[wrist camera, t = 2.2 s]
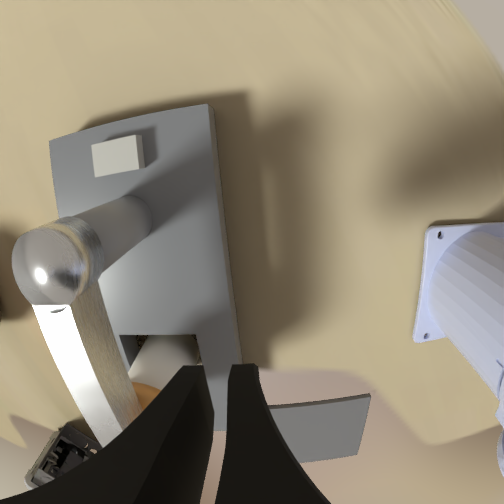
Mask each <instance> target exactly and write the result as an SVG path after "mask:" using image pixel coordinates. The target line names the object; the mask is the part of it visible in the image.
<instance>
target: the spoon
mask: <svg viewBox="0 0 504 504" xmlns="http://www.w3.org/2000/svg"><path fill="white" fill-rule="evenodd" d="M103 267H104V252H103V247H102V244H101V242H100V239H99V237H98V235H97V234H96V232H95V231H94V230H93V228H92V227H91V226H90V225H89V224H87V223H86V222H85V221H83V220H82V219H79V218H77V217H73V216H66V217H62V218H59V219H57V220H54V221H52V222H50V223H47V224H45V225H42V226H40V227H38V228H35V229H33V230H31V231H29V232H26V233H24V234H23V235H21V236H20V237H19V238H18V240H17V241H16V243H15V245H14V248H13V252H12V269H13V274H14V277H15V280H16V283H17V285H18V287H19V289H20V291H21V292H22V294H23V295H24V297H25V298H26V299H27V300H28V301H29V302H30V303H31V304H32V305H33V307H34V310H35V312H36V315H37V318H38V321H39V323H40V326H41V329H42V331H43V334H44V336H45V339H46V341H47V343H48V346H49V348H50V351H51V353H52V355H53V357H54V360H55V362H56V364H57V366H58V368H59V370H60V373H61V375H62V377H63V379H64V381H65V383H66V385H67V387H68V389H69V391H70V393H71V395H72V396H73V398H74V400H75V402H76V404H77V406H78V408H79V409H80V411H81V413H82V415H83V416H84V418H85V420H86V422H87V423H88V425H89V427H90V428H91V430H92V431H93V433H94V435H95V436H96V438H97V439H98V441H99V443H100V444H101V446H102V447H105V446H106V445H107V444H108V443H110V442H111V441H112V440H113V439H114V438H115V437H117V436H118V435H119V434H120V433H121V432H122V431H123V430H124V429H125V428H126V427H127V426H128V425H129V424H130V423H131V422H132V421H133V420H134V419H136V418H137V417H138V416H139V415H140V413H141V412H142V411H143V409H142V407H141V405H140V402H139V400H138V398H137V395H136V393H135V390H134V388H133V385H132V383H131V380H130V378H129V375H128V373H127V370H126V367H125V365H124V362H123V359H122V356H121V354H120V351H119V348H118V345H117V342H116V339H115V336H114V333H113V330H112V327H111V324H110V321H109V317H108V314H107V311H106V307H105V304H104V300H103V297H102V293H101V290H100V286H99V282H98V279H99V278H100V276H101V274H102V271H103Z"/></svg>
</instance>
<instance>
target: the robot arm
mask: <svg viewBox="0 0 504 504" xmlns="http://www.w3.org/2000/svg"><path fill="white" fill-rule="evenodd" d="M440 231H441V236H440V237H438V233H439V232H440ZM426 333H427V334H426ZM425 334H426V335H425ZM424 335H425V336H424ZM444 337H448V339H449V340H450V341H451V342H452V343H453V344H454V345H455V347H456V348H457V349H458V350H459V351H460V353H461V354H462V355H463V356H464V357H465V358H466V360H467V361H468V362H469V363H470V364H471V366H472V367H473V368H474V369H475V371H476V372H477V373H478V374H479V376H480V377H481V378H482V379H483V381H484V382H485V383H486V384H487V386H488V387H489V388H490V389H491V391H492V392H493V393H494V395H495V396H496V397H497V399H498V400H499V401H500V404H499V407H498V410H497V411H496V413H495V416H496V418H497V419H498V421H499V422H500V423H501V425H502V426H503V430H502V432H501V434H500V437H499V440H498V444H497V458H498V463H499V467H500V469H501V472H502V474H503V476H504V222H493V223H475V224H457V225H440V226H431V227H429V228H428V229H427V230H426V232H425V242H424V255H423V266H422V276H421V284H420V292H419V299H418V306H417V313H416V319H415V325H414V330H413V340H414V341H415V342H416V343H421V342H426V341H431V340H435V339H440V338H444ZM214 416H215V412H214V408H213V404H212V400H211V396H210V392H209V387H208V383H207V379H206V375H205V370H204V366H203V365H183V366H182V367H181V368H180V369H179V370H178V371H177V373H176V374H175V375H174V376H173V377H172V379H171V380H170V381H169V382H168V383H167V384H166V386H165V387H164V388H163V389H162V390H161V391H160V393H159V394H158V395H157V396H156V397H155V398H154V399H153V400H152V402H151V403H150V404H149V405H148V406H147V407H146V408H145V409H144V410H143V411H142V412H141V413H140V415H139V416H138V417H137V418H136V419H134V420H133V421H132V422H131V423H130V424H129V425H128V426H127V427H126V428H125V429H124V430H123V431H122V432H121V433H120V434H119V435H118V436H117V437H115V438H114V439H113V440H112V441H111V442H110V443H108V444H107V445H106V446H105V447H103V448H102V449H101V450H100V451H98V452H97V453H96V454H94V455H93V456H92V457H90V458H89V459H87V460H86V461H84V462H82V463H81V464H79V465H78V466H76V467H74V468H73V469H71V470H70V471H68V472H66V473H65V474H63V475H61V476H59V477H58V478H56V479H54V480H52V481H50V482H48V483H45V484H43V485H41V486H39V487H36V488H34V489H32V490H29V491H27V492H24V493H21V494H19V495H15V496H12V497H9V498H5V499H2V500H0V504H200V499H201V494H202V489H203V485H204V480H205V475H206V471H207V466H208V461H209V456H210V452H211V447H212V441H213V430H214ZM226 433H227V434H226V448H225V454H224V460H223V465H222V471H221V476H220V481H219V487H218V491H217V496H216V500H215V504H331V503H330V502H329V501H328V500H327V498H326V497H325V496H324V495H323V494H322V493H321V492H320V490H319V489H318V488H317V487H316V486H315V484H314V483H313V482H312V481H311V479H310V478H309V477H308V475H307V474H306V473H305V471H304V470H303V468H302V467H301V465H300V464H299V462H298V461H297V459H296V458H295V456H294V455H293V453H292V452H291V450H290V448H289V447H288V445H287V443H286V442H285V440H284V438H283V436H282V434H281V433H280V431H279V429H278V427H277V425H276V423H275V421H274V419H273V416H272V414H271V412H270V410H269V407H268V405H267V403H266V400H265V397H264V394H263V391H262V388H261V384H260V381H259V371H258V366H257V365H255V364H254V363H252V364H232V367H231V370H230V374H229V378H228V389H227V432H226Z"/></svg>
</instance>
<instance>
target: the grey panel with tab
mask: <svg viewBox="0 0 504 504" xmlns="http://www.w3.org/2000/svg"><path fill="white" fill-rule="evenodd" d="M49 147H50V158H51V167H52V175H53V183H54V190H55V197H56V203H57V209H58V214H59V218H62V217H66V216H73V217H77V218H79V219H82V220H83V221H85V222H86V223H87V224H89V225H90V226H91V227H92V228H93V230H94V231H95V232H96V234H97V235H98V237H99V239H100V242H101V244H102V247H103V252H104V267H103V271H102V274H101V276H100V278H99V279H98V282H99V286H100V290H101V293H102V297H103V300H104V304H105V307H106V311H107V314H108V317H109V321H110V324H111V327H112V330H113V333H114V336H115V339H116V342H117V345H118V348H119V351H120V354H121V356H122V359H123V362H124V365H125V367H126V370H127V373H128V372H129V370H130V368H131V366H132V364H133V362H134V361H135V359H136V357H137V355H138V353H139V351H140V349H139V346H138V343H137V340H136V336H135V335H183V334H196V337H197V342H198V347H199V351H200V356H201V360H202V365H203V366H204V370H205V375H206V379H207V383H208V387H209V392H210V396H211V400H212V404H213V408H214V412H215V416H214V430H213V431H227V389H228V378H229V374H230V370H231V367H232V364H243V361H242V353H241V346H240V339H239V331H238V323H237V316H236V308H235V300H234V292H233V284H232V276H231V267H230V259H229V250H228V242H227V233H226V224H225V215H224V206H223V197H222V188H221V178H220V168H219V158H218V148H217V138H216V127H215V117H214V109H213V108H212V107H211V106H210V105H209V104H202V105H195V106H189V107H182V108H176V109H171V110H165V111H160V112H155V113H150V114H145V115H141V116H136V117H132V118H127V119H123V120H119V121H115V122H111V123H107V124H103V125H100V126H96V127H92V128H89V129H85V130H82V131H79V132H75V133H72V134H69V135H66V136H63V137H59V138H56V139H53V140H51V141H49Z"/></svg>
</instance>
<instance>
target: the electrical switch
mask: <svg viewBox="0 0 504 504" xmlns="http://www.w3.org/2000/svg"><path fill="white" fill-rule="evenodd" d="M65 425H66V426H65ZM65 425H64V427H63V428H62V430H61V431H56V432H53V434H52V435H51V437H50V441H49V442H48V443H47V445H46V447H45V448H44V450H43V451H42V453H41V454H40V456H39V458H38V459H37V461H36V462H35V464H34V465H33V467H32V469H31V470H29V471H28V472H27V474H26V476H25V479H24V482H25V485H26V487H27V488H28V489H30V490H32V489H34V488H36V487H39V486H41V485H43V484H45V483H48V482H50V481H52V480H54V479H56V478H58V477H59V476H61V475H63V474H65V473H66V472H68V471H70V470H71V469H73V468H74V467H76V466H78V465H79V464H81V463H82V462H84V461H86V460H87V459H89V458H90V457H92V456H93V455H94V453H93V452H91V451H90V449H95V450H97V452H98V451H100V450H101V449H102V448H103V447H102V446H101V444H99V443H98V442H96V441H94V440H93V439H91V438H89V437H88V436H86V435H85V434H83V433H81V432H80V431H78V430H77V429H75V428H74V427H72V426H71V425H69V424H65ZM77 433H78V434H77ZM87 443H88V446H87V447H86V448H84V447H85V446H86V445H87Z"/></svg>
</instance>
